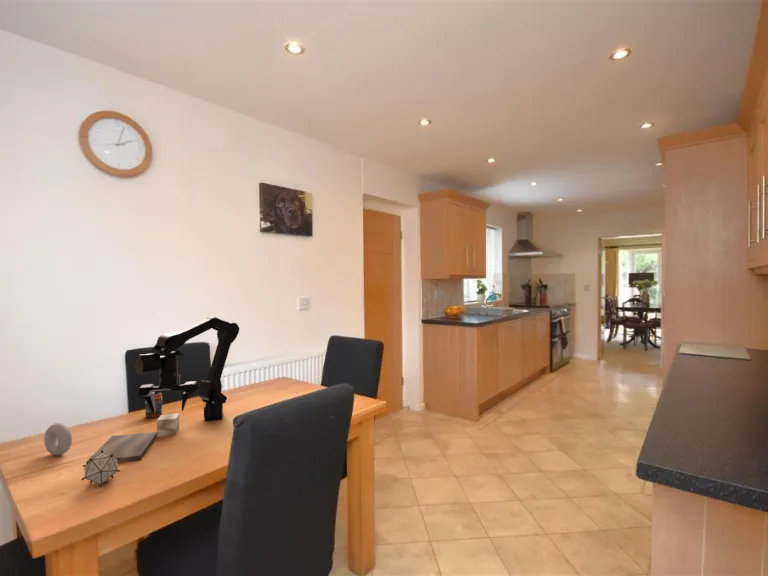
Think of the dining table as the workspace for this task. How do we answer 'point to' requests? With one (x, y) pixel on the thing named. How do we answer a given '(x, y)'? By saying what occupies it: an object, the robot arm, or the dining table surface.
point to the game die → (101, 468)
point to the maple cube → (168, 425)
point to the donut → (58, 439)
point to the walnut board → (127, 446)
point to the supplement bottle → (157, 404)
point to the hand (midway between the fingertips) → (168, 411)
